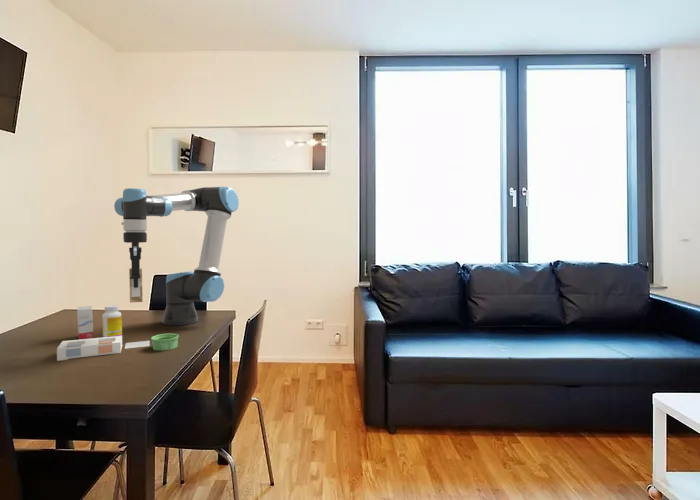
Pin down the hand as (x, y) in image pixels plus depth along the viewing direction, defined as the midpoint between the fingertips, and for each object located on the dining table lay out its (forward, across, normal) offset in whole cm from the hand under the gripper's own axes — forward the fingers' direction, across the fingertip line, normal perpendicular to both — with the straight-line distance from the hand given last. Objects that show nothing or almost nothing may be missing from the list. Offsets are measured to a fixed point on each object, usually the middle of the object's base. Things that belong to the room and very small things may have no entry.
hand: (136, 295), depth 151 cm
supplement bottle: (+19, -15, -9) cm, 26 cm away
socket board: (+19, +4, -14) cm, 23 cm away
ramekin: (+19, +8, +9) cm, 22 cm away
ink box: (+19, -22, -18) cm, 34 cm away
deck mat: (+19, 0, 0) cm, 19 cm away
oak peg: (+2, 0, 0) cm, 2 cm away
